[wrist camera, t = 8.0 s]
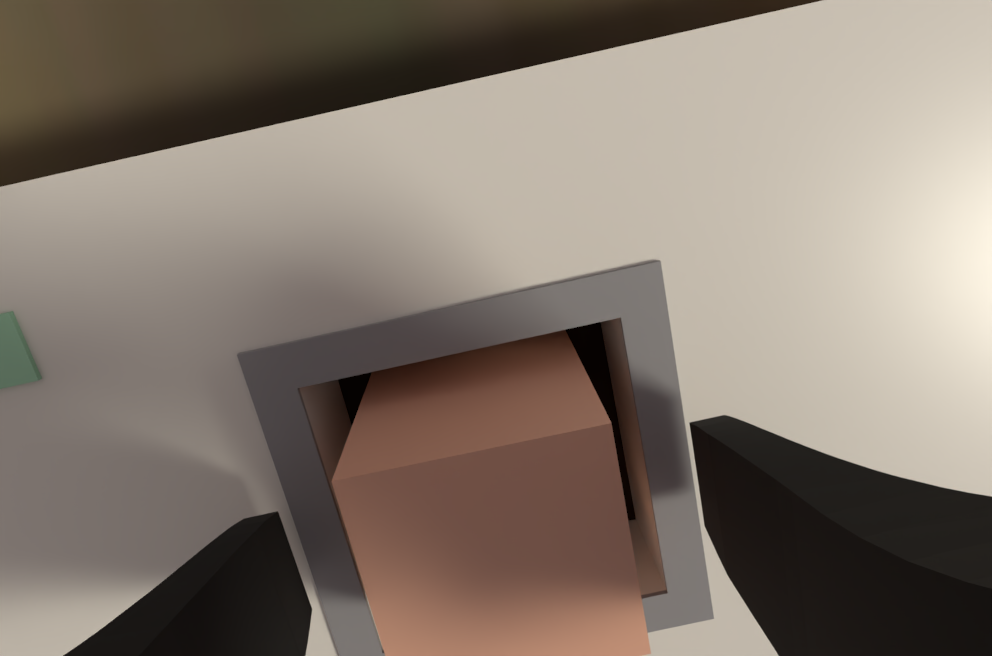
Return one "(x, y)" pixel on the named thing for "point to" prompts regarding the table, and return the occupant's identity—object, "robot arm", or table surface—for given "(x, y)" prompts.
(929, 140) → the outlet block
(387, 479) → the plug block
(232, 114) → the table surface
